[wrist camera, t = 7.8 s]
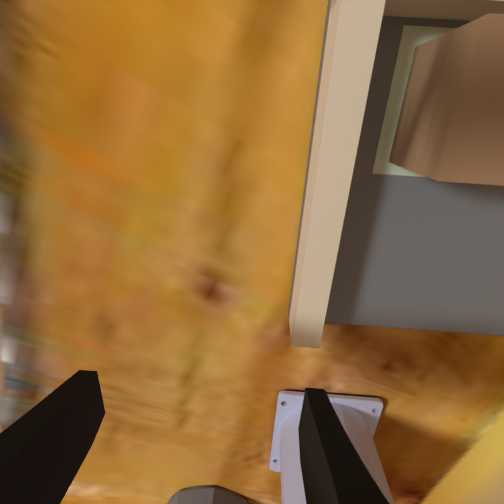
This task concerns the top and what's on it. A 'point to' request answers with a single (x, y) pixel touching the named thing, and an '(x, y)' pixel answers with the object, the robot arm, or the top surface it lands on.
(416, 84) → the walnut cube
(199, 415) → the top surface
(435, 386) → the top surface
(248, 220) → the top surface
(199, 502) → the coffeepot
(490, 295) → the grey corner tray
